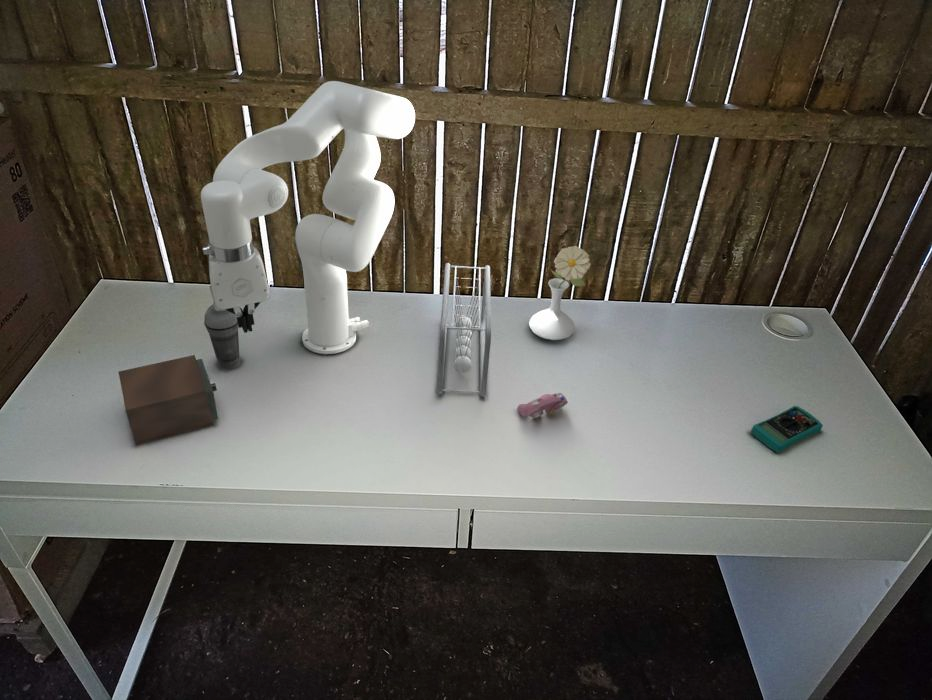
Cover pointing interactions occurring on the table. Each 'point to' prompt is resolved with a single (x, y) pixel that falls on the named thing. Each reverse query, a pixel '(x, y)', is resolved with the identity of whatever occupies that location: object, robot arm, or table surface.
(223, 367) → the beverage cup
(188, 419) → the cabinet
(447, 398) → the table surface
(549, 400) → the pink toy car
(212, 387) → the drawer
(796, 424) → the digital multimeter
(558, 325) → the flower in vase
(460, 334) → the newton's cradle
